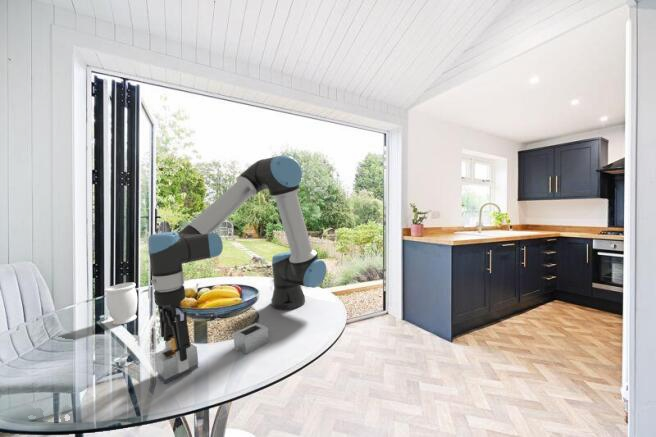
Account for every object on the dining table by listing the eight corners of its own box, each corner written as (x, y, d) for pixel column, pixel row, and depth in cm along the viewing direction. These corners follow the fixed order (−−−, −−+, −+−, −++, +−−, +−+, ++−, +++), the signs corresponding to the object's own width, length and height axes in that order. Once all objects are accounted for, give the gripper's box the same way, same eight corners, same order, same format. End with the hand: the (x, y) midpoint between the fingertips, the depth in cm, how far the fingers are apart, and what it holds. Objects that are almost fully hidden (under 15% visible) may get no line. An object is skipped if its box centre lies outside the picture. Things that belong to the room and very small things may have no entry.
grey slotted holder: (257, 336, 101) (256, 322, 101) (268, 341, 97) (267, 327, 97) (234, 347, 94) (233, 333, 94) (246, 354, 90) (244, 338, 90)
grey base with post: (190, 361, 88) (186, 328, 87) (198, 367, 84) (194, 333, 83) (158, 377, 81) (153, 341, 80) (165, 384, 78) (160, 346, 77)
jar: (124, 326, 115) (119, 290, 114) (102, 326, 118) (98, 290, 116) (145, 315, 126) (141, 282, 124) (125, 314, 128) (121, 282, 127)
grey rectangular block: (188, 356, 88) (186, 340, 87) (198, 363, 84) (196, 347, 83) (155, 370, 81) (154, 354, 81) (165, 379, 77) (163, 361, 76)
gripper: (142, 285, 84) (151, 360, 86) (169, 298, 71) (178, 386, 73) (169, 279, 90) (177, 349, 92) (198, 289, 77) (207, 371, 79)
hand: (178, 365), depth 82 cm, fingers closed on grey rectangular block, 6 cm apart
